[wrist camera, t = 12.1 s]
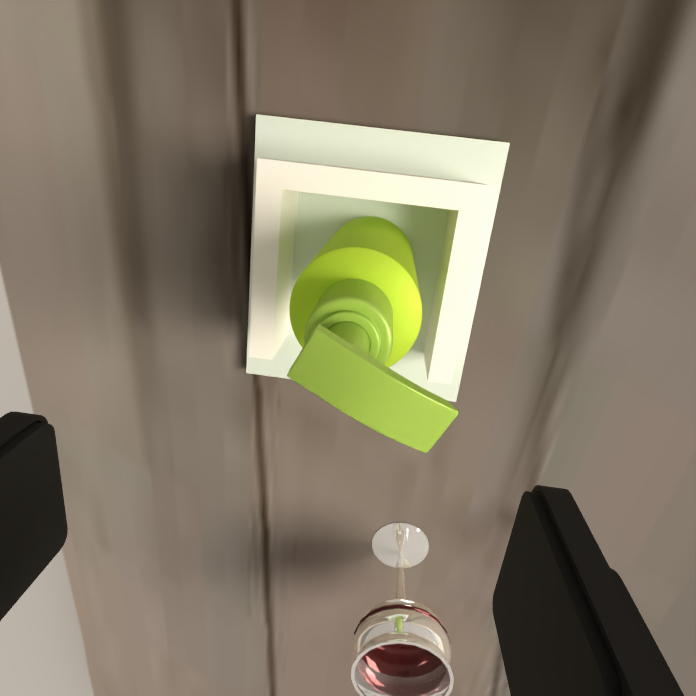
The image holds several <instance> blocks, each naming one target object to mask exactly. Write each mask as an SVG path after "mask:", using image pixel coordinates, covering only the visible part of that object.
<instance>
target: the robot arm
mask: <svg viewBox="0 0 696 696" xmlns="http://www.w3.org/2000/svg"><path fill="white" fill-rule="evenodd" d="M66 537H67V521H66V514H65V506H64V498H63V491H62V483H61V475H60V468H59V460H58V453H57V445H56V437H55V431H54V428H53V426H52V425H50V424H48V421H47V420H46V418H45V417H43V416H41V415H35V414H28V413H21V412H10V413H7V414H5V415H4V416H2V417H1V418H0V621H1V619H2V618H3V617H4V616H5V615H6V614H7V612H8V611H9V610H10V609H11V608H12V606H13V605H14V604H15V603H16V602H17V600H18V599H19V598H20V597H21V596H22V594H23V593H24V592H25V591H26V590H27V589H28V587H29V586H30V585H31V584H32V583H33V582H34V580H35V579H36V578H37V577H38V576H39V574H40V573H41V572H42V571H43V570H44V568H45V567H46V566H47V565H48V564H49V562H50V561H51V560H52V559H53V558H54V557H55V555H56V554H57V553H58V552H59V551H60V549H61V548H62V547H63V545H64V543H65V540H66ZM493 615H494V620H495V624H496V629H497V634H498V638H499V643H500V647H501V652H502V657H503V661H504V666H505V671H506V675H507V680H508V684H509V689H510V694H511V696H684V695H683V693H682V691H681V689H680V687H679V685H678V683H677V681H676V680H675V678H674V676H673V674H672V672H671V670H670V668H669V667H668V665H667V663H666V661H665V659H664V657H663V655H662V654H661V652H660V650H659V648H658V646H657V644H656V642H655V640H654V639H653V637H652V635H651V633H650V631H649V629H648V627H647V626H646V624H645V622H644V620H643V618H642V616H641V614H640V613H639V611H638V609H637V607H636V605H635V603H634V601H633V599H632V598H631V596H630V594H629V592H628V590H627V588H626V586H625V585H624V583H623V581H622V579H621V578H620V576H619V575H618V573H617V572H616V571H614V570H613V569H611V568H610V567H609V565H608V563H607V562H606V560H605V558H604V556H603V554H602V552H601V550H600V548H599V546H598V544H597V542H596V540H595V539H594V537H593V535H592V533H591V531H590V529H589V527H588V525H587V523H586V521H585V519H584V518H583V516H582V514H581V512H580V510H579V508H578V506H577V504H576V502H575V500H574V498H573V496H572V495H571V493H570V492H569V490H566V489H561V488H554V487H547V486H540V485H537V486H535V487H534V489H533V490H532V492H527V491H526V492H524V494H523V495H522V498H521V502H520V505H519V508H518V512H517V515H516V519H515V522H514V526H513V529H512V533H511V536H510V539H509V543H508V546H507V550H506V553H505V557H504V560H503V563H502V567H501V570H500V574H499V577H498V581H497V584H496V587H495V591H494V595H493Z"/></svg>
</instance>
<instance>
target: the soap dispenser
mask: <svg viewBox="0 0 696 696" xmlns="http://www.w3.org/2000/svg"><path fill="white" fill-rule="evenodd" d="M289 314H290V322H291V326H292V329H293V332H294V335H295V337H296V339H297V341H298V342H299V344H300V345H301V347H302V348H303V349H302V350H301V352H300V353H299V355H298V357H297V358H296V360H295V361H294V363H293V365H292V366H291V368H290V370H289V372H288V374H287V377H289V378H290V379H292V380H294V381H295V382H297V383H298V384H300V385H301V386H303V387H304V388H306V389H307V390H309V391H310V392H312V393H314V394H315V395H317V396H318V397H320V398H321V399H323V400H325V401H326V402H328V403H329V404H331V405H332V406H334V407H336V408H337V409H339V410H340V411H342V412H344V413H345V414H347V415H349V416H350V417H352V418H354V419H355V420H357V421H359V422H361V423H362V424H364V425H366V426H368V427H370V428H371V429H373V430H375V431H377V432H379V433H381V434H383V435H385V436H387V437H389V438H391V439H393V440H396V441H398V442H400V443H402V444H405V445H407V446H409V447H412V448H414V449H416V450H419V451H422V452H425V453H426V452H428V451H429V450H430V448H431V447H432V446H433V445H434V444H435V442H436V441H437V440H438V439H439V437H440V436H441V435H442V434H443V432H444V431H445V430H446V429H447V427H448V426H449V425H450V424H451V422H452V421H453V420H454V419H455V417H456V416H457V415H458V411H457V410H456V409H455V408H454V407H453V406H452V405H451V404H450V403H449V402H448V401H447V400H445V399H443V398H441V397H439V396H437V395H435V394H433V393H432V392H430V391H428V390H426V389H424V388H422V387H420V386H419V385H417V384H415V383H413V382H412V381H410V380H408V379H406V378H405V377H403V376H401V375H400V374H398V373H396V372H395V371H393V370H392V369H390V368H389V367H390V366H392V365H394V364H395V363H397V362H398V361H399V360H400V359H402V358H403V357H404V356H405V355H406V354H407V352H408V351H409V350H410V349H411V347H412V346H413V344H414V342H415V341H416V338H417V336H418V334H419V331H420V327H421V322H422V302H421V296H420V291H419V286H418V280H417V275H416V270H415V264H414V259H413V253H412V249H411V245H410V243H409V241H408V239H407V237H406V235H405V234H404V233H403V231H402V230H401V229H400V228H399V227H397V226H396V225H395V224H393V223H392V222H390V221H388V220H386V219H383V218H379V217H372V216H368V217H361V218H357V219H354V220H352V221H350V222H348V223H346V224H345V225H344V226H342V227H341V228H340V229H339V230H338V231H337V232H336V234H335V235H334V236H333V237H332V238H331V239H330V240H329V242H328V243H327V244H326V245H325V246H324V247H323V248H322V250H321V251H320V252H319V253H318V254H317V255H316V256H315V258H314V259H313V260H312V261H311V262H310V263H309V264H308V266H307V267H306V268H305V269H304V270H303V272H302V273H301V274H300V276H299V277H298V279H297V281H296V283H295V285H294V287H293V290H292V294H291V298H290V305H289Z"/></svg>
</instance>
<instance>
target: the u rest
mask: <svg viewBox="0 0 696 696" xmlns="http://www.w3.org/2000/svg"><path fill="white" fill-rule="evenodd" d="M509 144H510V143H506V142H497V141H488V140H479V139H471V138H462V137H453V136H444V135H435V134H426V133H417V132H408V131H400V130H391V129H382V128H373V127H364V126H355V125H346V124H338V123H329V122H320V121H311V120H302V119H293V118H284V117H275V116H267V115H258V114H256V132H255V158H254V184H253V210H252V236H251V262H250V288H249V314H248V341H247V367H246V373H251V374H258V375H265V376H273V377H280V378H287V379H290V378H289V377H287V374H288V372H289V370H290V368H291V366H292V365H293V363H294V361H295V360H296V358H297V357H298V355H299V353H300V352H301V350H302V349H303V348H302V347H301V345H300V344H299V342H298V341H297V339H296V337H295V335H294V332H293V329H292V326H291V322H290V314H289V305H290V298H291V294H292V290H293V287H294V285H295V283H296V281H297V279H298V277H299V276H300V274H301V273H302V272H303V270H304V269H305V268H306V267H307V266H308V264H309V263H310V262H311V261H312V260H313V259H314V258H315V256H316V255H317V254H318V253H319V252H320V251H321V250H322V248H323V247H324V246H325V245H326V244H327V243H328V242H329V240H330V239H331V238H332V237H333V236H334V235H335V234H336V232H337V231H338V230H339V229H340V228H341V227H342V226H344V225H345V224H346V223H348V222H350V221H352V220H354V219H357V218H361V217H368V216H372V217H379V218H383V219H386V220H388V221H390V222H392V223H393V224H395V225H396V226H397V227H399V228H400V229H401V230H402V231H403V233H404V234H405V235H406V237H407V239H408V241H409V243H410V245H411V249H412V253H413V259H414V264H415V270H416V275H417V280H418V286H419V291H420V296H421V302H422V322H421V327H420V331H419V334H418V336H417V338H416V341H415V342H414V344H413V346H412V347H411V349H410V350H409V351H408V352H407V354H406V355H405V356H404V357H403V358H402V359H400V360H399V361H398V362H397V363H395V364H394V365H392V366H390V367H389V368H390V369H392V370H393V371H395V372H396V373H398V374H400V375H401V376H403V377H405V378H406V379H408V380H410V381H412V382H413V383H415V384H417V385H419V386H420V387H422V388H424V389H426V390H428V391H430V392H432V393H433V394H435V395H437V396H439V397H441V398H443V399H445V400H447V401H454V402H456V399H457V394H458V390H459V385H460V380H461V375H462V370H463V366H464V361H465V356H466V351H467V346H468V342H469V337H470V332H471V327H472V322H473V317H474V313H475V308H476V303H477V298H478V293H479V289H480V284H481V279H482V274H483V269H484V265H485V260H486V255H487V250H488V245H489V240H490V236H491V231H492V226H493V221H494V216H495V212H496V207H497V202H498V197H499V192H500V188H501V183H502V178H503V173H504V168H505V164H506V159H507V154H508V149H509Z"/></svg>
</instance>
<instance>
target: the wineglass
mask: <svg viewBox="0 0 696 696" xmlns="http://www.w3.org/2000/svg"><path fill="white" fill-rule="evenodd" d="M428 548H429V544H428V540H427V537H426V536H425V535H424V533H423V532H422V531H421V530H419V529H418V528H417V527H415V526H413V525H410V524H407V523H392V524H388V525H386V526H384V527H382V528H380V529H379V530H378V531H377V532H376V533H375V535H374V537H373V539H372V549H373V552H374V554H375V555H376V557H377V558H378V559H379V560H380V561H381V562H383V563H384V564H386V565H389V566H391V567H396V568H397V587H396V598H394V599H389V600H386V601H384V602H382V603H379V604H377V605H374V606H373V607H372V608H370V609H369V610H368V611H367V612H366V613H365V614H364V616H363V617H362V619H361V620H360V622H359V624H358V626H357V628H356V630H355V632H354V639H353V657H354V660H355V662H354V664H353V666H352V672H351V679H352V682H353V685H354V687H355V689H356V691H357V692H358V693H359V694H360V695H361V696H448V695H449V694H450V692H451V691H452V687H453V681H454V678H453V674H452V671H451V667H450V666H449V665H450V659H451V647H450V642H449V638H448V634H447V631H446V629H445V627H444V626H443V624H442V622H441V621H440V619H439V618H438V617H437V615H436V614H435V613H434V612H433V611H431V610H430V609H429V608H427V607H426V606H424V605H422V604H420V603H418V602H416V601H413V600H410V599H406V596H405V582H404V568H407V567H412V566H414V565H417V564H419V563H420V562H421V561H422V560H423V559H424V558H425V557H426V555H427V553H428Z"/></svg>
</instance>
